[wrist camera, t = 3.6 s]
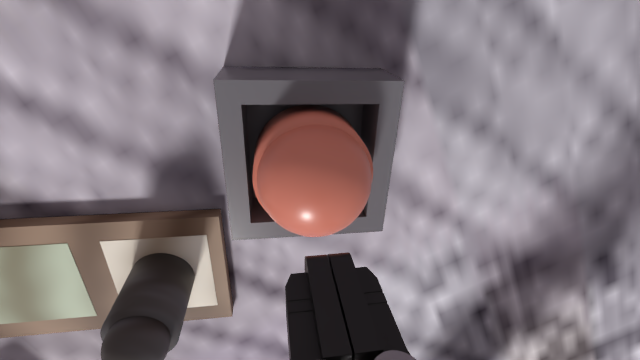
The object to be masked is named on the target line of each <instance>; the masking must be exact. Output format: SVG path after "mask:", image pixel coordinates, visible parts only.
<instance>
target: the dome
mask: <svg viewBox="0 0 640 360" xmlns="http://www.w3.org/2000/svg"><path fill="white" fill-rule="evenodd" d="M372 179H373V163H372V159H371V155H370V153H369V151H368V149H367V147H366V145H365V144H364V142H363V141H362V139H361V138H360V137H359V135H358V134H357V132H356V131H355V130H354V128H353V127H352V125H351V124H350V123H349V122H348V121H347V120H346V119H345V118H344V117H343V116H342V115H341V114H339V113H338V112H336V111H334V110H332V109H330V108H327V107H324V106H320V105H311V104H307V105H299V106H294V107H291V108H288V109H286V110H284V111H282V112H280V113H278V114H277V115H275V116H274V117H273V118H272V119H271V120H270V121H269V122H268V123H267V124H266V125H265V126H264V128H263V129H262V131H261V132H260V135H259V137H258V139H257V142H256V146H255V154H254V165H253V188H254V191H255V195H256V197H257V199H258V201H259V203H260V204H261V206H262V207H263V209H264V210H265V211H266V212H267V213H268V214H269V216H270V217H271V218H272V219H273V220H274V221H275V222H276V223H277V224H278V225H280V226H281V227H283V228H284V229H286V230H288V231H290V232H292V233H295V234H298V235H302V236H308V237H321V236H327V235H331V234H334V233H336V232H338V231H341V230H342V229H344V228H346V227H347V226H349V225H350V224H351V223H352V222H353V221H354V220H355V219H356V218H357V217H358V216H359V215H360V214H361V212H362V211H363V209H364V207H365V205H366V203H367V201H368V198H369V195H370V191H371V184H372Z"/></svg>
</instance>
